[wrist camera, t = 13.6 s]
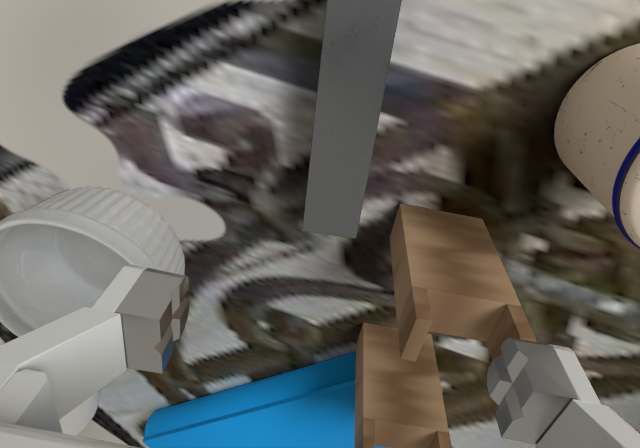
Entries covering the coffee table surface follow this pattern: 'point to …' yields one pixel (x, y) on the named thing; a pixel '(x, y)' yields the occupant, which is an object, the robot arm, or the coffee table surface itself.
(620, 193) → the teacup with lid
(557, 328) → the coffee table surface
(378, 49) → the rail
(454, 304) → the post
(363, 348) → the post
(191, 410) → the book
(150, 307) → the robot arm
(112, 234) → the ramekin
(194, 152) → the coffee table surface
